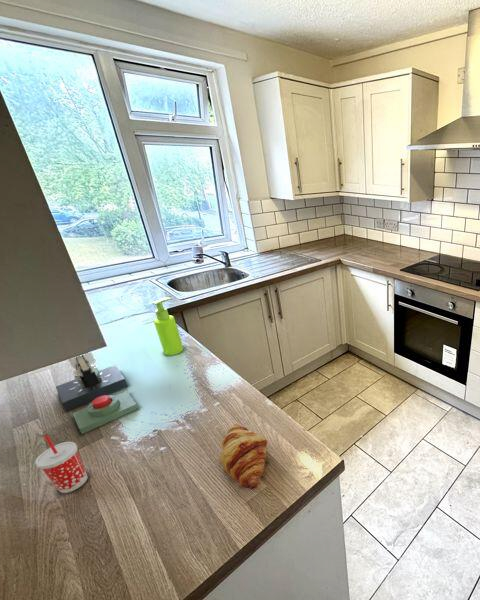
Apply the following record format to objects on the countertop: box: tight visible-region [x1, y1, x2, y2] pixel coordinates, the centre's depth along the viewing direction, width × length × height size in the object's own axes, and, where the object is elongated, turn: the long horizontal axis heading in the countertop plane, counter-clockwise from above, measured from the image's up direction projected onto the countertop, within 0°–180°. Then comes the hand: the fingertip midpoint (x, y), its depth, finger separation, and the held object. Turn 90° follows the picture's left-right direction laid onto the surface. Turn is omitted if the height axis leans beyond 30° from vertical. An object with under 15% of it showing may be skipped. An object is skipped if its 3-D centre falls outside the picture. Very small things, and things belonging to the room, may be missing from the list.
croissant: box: [218, 423, 268, 490], centre depth 76 cm, size 21×10×8 cm, turn 36°
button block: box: [72, 390, 139, 435], centre depth 90 cm, size 12×9×4 cm
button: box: [91, 394, 111, 409], centre depth 89 cm, size 4×4×2 cm
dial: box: [72, 364, 102, 388], centre depth 97 cm, size 5×5×5 cm
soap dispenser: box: [152, 297, 184, 356], centre depth 116 cm, size 6×7×20 cm
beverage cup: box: [35, 434, 88, 494], centre depth 68 cm, size 6×6×14 cm
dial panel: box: [55, 364, 129, 412], centre depth 98 cm, size 14×11×3 cm
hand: (89, 380), depth 98 cm, fingers closed on dial, 5 cm apart
